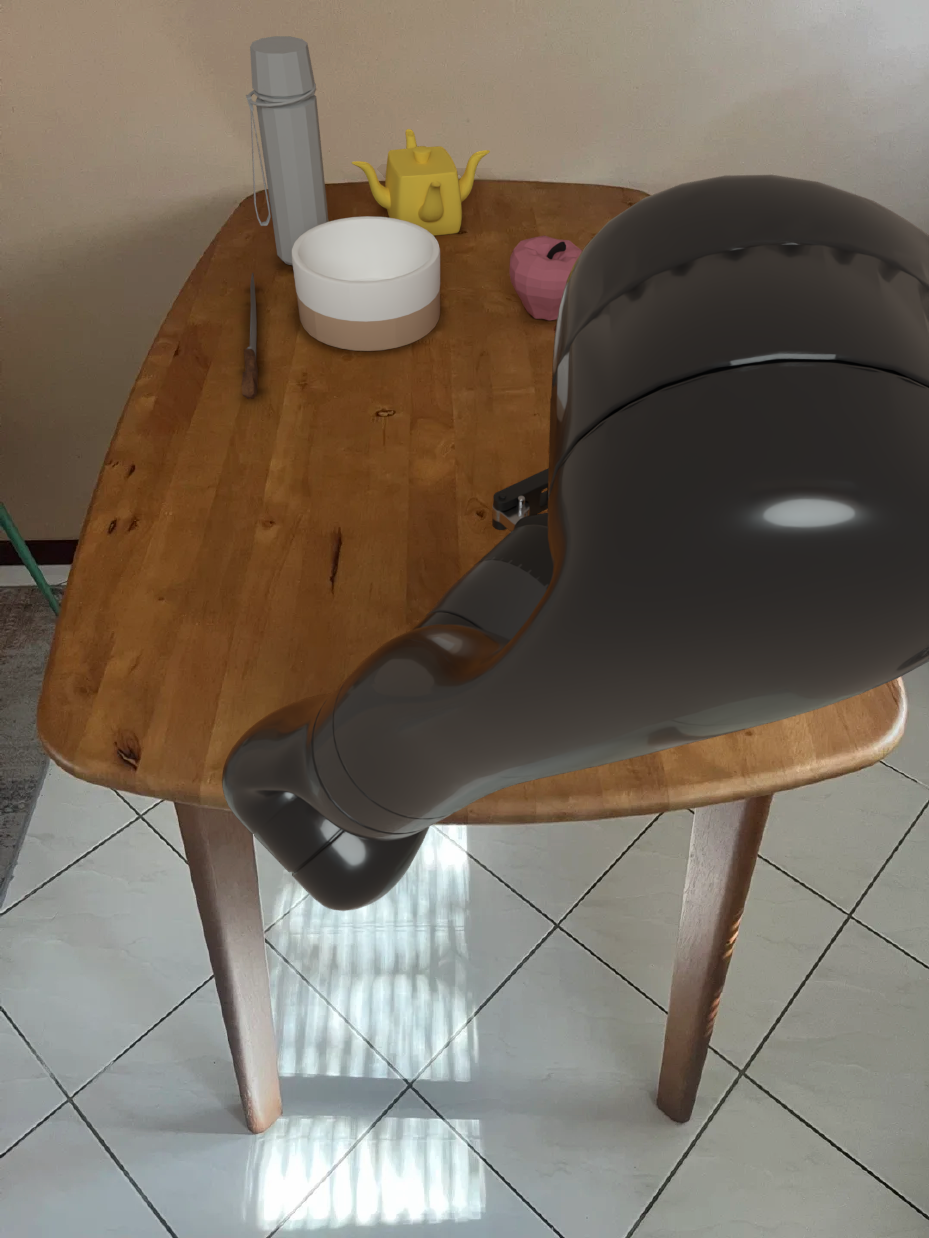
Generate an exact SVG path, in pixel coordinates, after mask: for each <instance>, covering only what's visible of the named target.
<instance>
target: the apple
mask: <svg viewBox="0 0 929 1238" xmlns="http://www.w3.org/2000/svg"><path fill="white" fill-rule="evenodd" d="M582 251H583V249H582V248H579V247H578V246H576V244H574V243H573V242H572V240H568V239H560V238H559V239H558V238H555V237H550V236H547V235H539V236H535V237H529V238H526V239H523V240H520V241H519V242H518V244H517V245H516V246H515V247H514V248H513V249H512V252H511V254H510V256H509V278H510V284H511V285H512V287H513V289H514V291H515V293H516V295H517V296H518V298H519V299H520V301H521V303H522V306H523V307H524V309H525V311H526V312H527V313H528V314H529V315H530V316H532V317H533V318H534V319H537V320H545V321H555V320H557V317H558V312H559V307H560V303H561V299H562V294H563V291H564V288H565V285H566V281H567V279H568V276H569V274H570V272H571V270H572V268H573V266H574V264H575V262H576V260H577V259H578V257H579V255H580V254H581V252H582Z"/></svg>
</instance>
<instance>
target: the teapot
mask: <svg viewBox="0 0 929 1238" xmlns="http://www.w3.org/2000/svg"><path fill="white" fill-rule="evenodd" d="M490 152H491V150H489V149H484V150H479V151H476V152H473V154H472V155H471V156H469V159H468V160H467V162H466V166H465V170H464V172H463V174H462V176H460V178H459V174H458V169H457V166H456V164H455V162H454V160H453V158H452V156H451V155H450V153H449V152H448V151H447V150H446V148H444V147H443V146H441V145H438V146H435V145H434V146H425V145H419V146H418V144H417V138H416V134H415V132H414V130H412V129H411V128H407V129H405V148H398V149H389V151H388V152H387V158H386V166H385V167H386V168H385V178H384V179H385V180H384V185H383V184H381V182H380V181H379V178H378V175H377V172H376V170H375V168H374V166H373V165H372V164H371V163H370V162H367V161H360V160H357V161H352V162H351V164H352V165H353V166H356V167H357V168H359V169H360V170H362V172H363V173H364V174H365V176H366V179H367V182H368V184H369V189H370V192H371V194H372V196H373V199H374V201H376V203H377V204H378V205H379V206H381V208H383V209H386V212H387V215H388V218H395V219H399V220H403V221H407V222H410V223H413V224H416V225H418V226H420V227H422V228H424V229H426V230H427V231H428V232H430V233H431V234H432V235H433V236H434V237H435V236H443V235H453V234H457V233H459V232H460V230H461V226H462V221H463V220H462V219H463V209H462V208H463V207H462V206H463V205H462V202H464V201H465V200H466V199H467V198H468V197H469V195H470V194H471V192H472V189H473V186H474V181H475V176H476V171H477V167H478V166H479V163H480V161H481V160H482V159H483V158H484V157H485V156H486V155H488V154H489V153H490Z"/></svg>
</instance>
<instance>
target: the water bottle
mask: <svg viewBox="0 0 929 1238" xmlns="http://www.w3.org/2000/svg"><path fill="white" fill-rule="evenodd" d="M249 52H250V53H249V55H250V71H251V73H250V74H251V88H252V90H251V91H250V92H249V93H248V94H245V98H246V101H247V103H248V107H249V110H250V130H251V131H250V132H251V155H252V156H251V157H252V159H251V161H252V182H253V183H252V185H253V203H254V204H253V205H254V209H255V213H256V218H257V220H258V223H259V225H260V227H266V226H269V223H270V222H271V220H272V227H273V234H274V241H275V249H276V256H277V257H279V259H280V260H281V261H282V262H284V264H285V265H289V266H292V267H293V263H292V248H293V245H294V243H295V242H296V240H297V239H298V238H299V237H300V236H301V235H302V234H304V233H305V232H306V231H308V230H310V229H312V228H314V227H316V226H318V225H321V224H324V223H326V222H329V214H328V201H327V191H326V181H325V171H324V162H323V151H322V140H321V131H320V120H319V111H318V100H317V99H318V98H317V95H316V91H317V84H316V81H315V76H314V71H313V65H312V60H311V55H310V49H309V44H308V41H305V39H303V38H300V37H295V36H289V35H288V36H287V35H273V36H267V37H262V38H259V39H257V40H254V41H252V42H251V44H250V46H249ZM254 95H255V96H256V99H255V100H253V97H252V96H254ZM254 106H256V113H257V121H258V128H259V135H260V141H261V149H262V155H261V150H260V144H259V139H258V133H257V129H256V122H255V118H254V117H255V116H254V111H255V108H254ZM253 129H254V131H253ZM254 134H255V139H256V144H257V145H256V146H257V151H258V158H259V164H260V170H261V175H262V181H263V187H264V193H265V194H264V195H265V199H266V204H267V205H266V206H267V212H268V215H267V218H266V220H265V221H261V218H260V217H259V212H258V208H257V199H256V196H257V195H256V177H255V176H256V175H255V154H254V153H255V152H254ZM262 156H263V162H262ZM263 163H264V166H263ZM263 167H264V168H263ZM264 169H265V173H264ZM265 177H266V179H265Z"/></svg>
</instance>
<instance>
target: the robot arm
mask: <svg viewBox="0 0 929 1238" xmlns="http://www.w3.org/2000/svg"><path fill="white" fill-rule="evenodd" d="M582 250H583V251H582V252H581V254H580V255H579V257H578V259H577V260H576V262H575V264H574V266H573V268H572V270H571V272H570V274H569V276H568V279H567V281H566V285H565V288H564V291H563V294H562V299H561V303H560V307H559V312H558V317H557V319H556V324H555V331H554V337H553V338H554V339H553V349H552V350H553V351H552V353H553V354H552V368H551V369H552V371H551V391H550V401H549V439H548V440H549V441H548V468H545V469H544V470H541V471H539V472H537V473H535V474H532V475H531V476H529V477H526V478H524V479H522V480H520V481H518V482H516V483H514V484H511V485H509V486H507V487H504V488H502V489H500V490H499V491H497V492H495V493H494V494H493V495H492V496H493V498H492V507H491V508H492V509H491V512H492V513H491V517H492V518H491V519H492V520H491V525H492V526H491V527H492V528H493V529H494V530H497V531H506V530H508V531H509V533H508V534H507V535H505V536H504V537H503V538H502V539H501V540H500V541H499V542H498V543H497V544H495V546H493V547H492V548H491V549H490V550H489V551H488V552H487V553H486V554H485V555H484V556H482V558H481V559H479V560H478V561H477V562H476V563H475V564H474V565H473V566H471V568H470V569H469V570H467V571H466V572H465V573H464V574H462V576H461V577H459V579H457V581H455V582H454V583H453V584H452V585H451V586H450V587H449V588H448V589H447V590H446V591H445V592H444V593H443V594H442V596H441V597H440V598H439V599H438V600H437V602H436V603H435V604H434V606H433V607H432V608H431V609H430V610H429V612H428V613H427V614H426V615H425V616H424V617H423V618H422V619H421V620H419V621H418V622H417V623H416V624H415V625H414V626H413V627H411V629H409V630H408V631H405V632H404V633H402V634H399V635H397V636H395V637H393V638H391V639H390V640H388V641H385V642H384V643H382V644H381V645H380V646H379V647H378V648H377V649H375V650H374V651H373V652H372V653H370V654H369V655H368V656H367V657H365V658H364V659H363V660H362V661H361V662H360V663H359V664H358V665H357V666H356V667H355V668H354V670H352V671H351V673H350V674H349V675H348V676H347V677H346V678H345V679H344V680H343V681H342V682H341V683H340V684H339V685H338V686H337V688H336V689H335V690H334V691H333V692H328V693H322V694H318V695H314V696H309V697H306V698H302V699H300V700H296V701H294V702H291V703H289V704H286V705H284V706H281V707H280V708H277V709H276V710H274V711H272V712H269V714H267V715H265V716H264V717H263V718H260V719H259V720H258V721H257V722H256V723H255V722H254V724H253V725H252V726H250V727H249V728H248V729H247V730H246V731H245V732H244V733H243V734H242V735H241V736H240V737H239V738H238V740H237V741H236V742H235V743H234V745H233V746H232V748H231V750H230V751H229V753H228V754H227V757H226V759H225V762H224V764H223V766H222V767H223V768H222V774H221V786H222V787H221V788H222V792H223V795H224V799H225V801H226V804H227V806H228V808H229V809H230V811H231V812H232V814H233V815H234V817H236V819H237V820H238V821H239V822H240V823H241V824H242V826H244V828H245V829H247V830H248V832H250V834H251V835H253V837H254V838H255V839H256V840H257V841H258V842H259V843H260V844H261V845H262V846H263V847H264V848H265V850H266V851H268V853H270V854H271V855H272V857H273V858H274V859H275V860H276V861H277V862H278V863H279V864H280V865H281V866H282V867H283V868H284V869H285V870H286V871H287V873H291V877H293V879H294V880H295V881H296V882H297V883H298V884H299V886H301V887H302V889H304V891H306V892H307V893H308V895H310V896H311V898H313V899H314V900H315V901H316V902H318V903H319V904H320V905H321V906H323V907H325V908H326V909H329V910H331V911H338V912H339V911H340V912H347V911H354V910H359V909H362V908H364V907H367V906H369V905H372V904H374V903H375V902H377V901H379V900H381V899H382V898H383V897H384V896H386V895H387V894H388V893H389V892H390V891H392V890H393V888H395V886H396V885H398V883H399V882H400V881H401V880H402V878H404V876H405V875H406V873H407V871H408V870H409V868H410V867H411V865H412V863H413V862H414V860H415V858H416V856H417V854H418V852H419V851H420V849H421V847H422V845H423V843H424V840H425V838H426V836H427V834H428V832H429V829H430V828H431V826H433V825H435V824H437V823H438V822H440V821H443V820H444V819H446V818H448V817H449V816H451V815H454V813H457V812H459V811H461V810H462V809H464V808H466V807H468V806H469V805H471V804H473V803H474V802H477V801H478V800H480V799H483V798H485V797H487V796H490V795H492V794H494V793H496V792H499V791H502V790H505V789H507V788H510V787H513V786H516V785H520V784H524V783H528V782H532V781H536V780H541V779H545V778H551V777H555V776H559V775H564V774H568V773H572V772H577V771H582V770H587V769H592V768H596V767H597V768H598V767H600V766H605V765H609V764H614V763H618V762H622V761H626V760H632V759H635V758H640V757H643V756H648V755H651V754H655V753H659V752H662V751H667V750H670V749H674V748H678V747H681V746H687V745H690V744H693V743H699V742H701V741H707V740H709V739H714V738H717V737H718V738H719V737H720V736H725V735H729V734H733V733H737V732H741V731H745V730H749V729H752V728H756V727H760V726H764V725H768V724H771V723H775V722H779V721H783V720H788V719H789V718H793V717H796V716H800V715H803V714H806V713H810V712H813V711H816V710H820V709H823V708H826V707H829V706H831V705H834V704H836V703H840V702H842V701H845V700H847V699H851V698H854V697H856V696H860V695H861V694H864V693H866V692H870V691H872V690H873V689H876V688H878V687H880V686H883V685H885V684H887V683H891V682H892V681H895V680H897V679H899V678H901V677H903V676H905V675H906V674H908V673H910V672H912V671H914V670H916V669H918V668H920V667H922V666H923V665H925V664H927V663H929V233H928V232H925V231H924V230H923V229H922V228H920V227H918V226H917V225H915V224H913V223H912V222H911V221H910V220H908V219H906V218H904V217H903V216H902V215H899V214H898V213H896V212H895V211H893V210H891V209H889V208H888V207H886V206H884V205H882V204H880V203H879V202H877V201H874V199H873V200H872V199H870V198H867V197H864V196H861V195H859V194H856V193H853V192H850V191H848V190H845V189H842V188H840V187H837V186H834V185H832V184H829V183H825V182H822V181H821V182H820V181H816V180H810V179H803V178H797V177H791V176H784V175H778V174H732V175H731V174H729V175H727V174H725V175H719V176H715V177H709V178H703V179H698V180H693V181H688V182H683V183H679V184H677V185H674V186H671V187H669V188H667V189H664V190H661V191H659V192H656V193H654V194H651V195H649V196H646V197H643V198H642V199H640V200H639V201H638V202H636V203H635V204H633V205H631V206H629V207H628V208H626V209H625V210H623V211H622V212H620V213H619V214H617V215H615V216H614V217H613V218H611V219H610V220H609V221H608V222H606V223H605V224H604V225H603V227H601V229H600V230H599V231H598V232H596V234H595V235H594V236H593V237H592V239H590V240H589V241H588V243H587V244H586V245H585V246H584V247H583V249H582ZM545 511H547V512H545Z"/></svg>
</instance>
